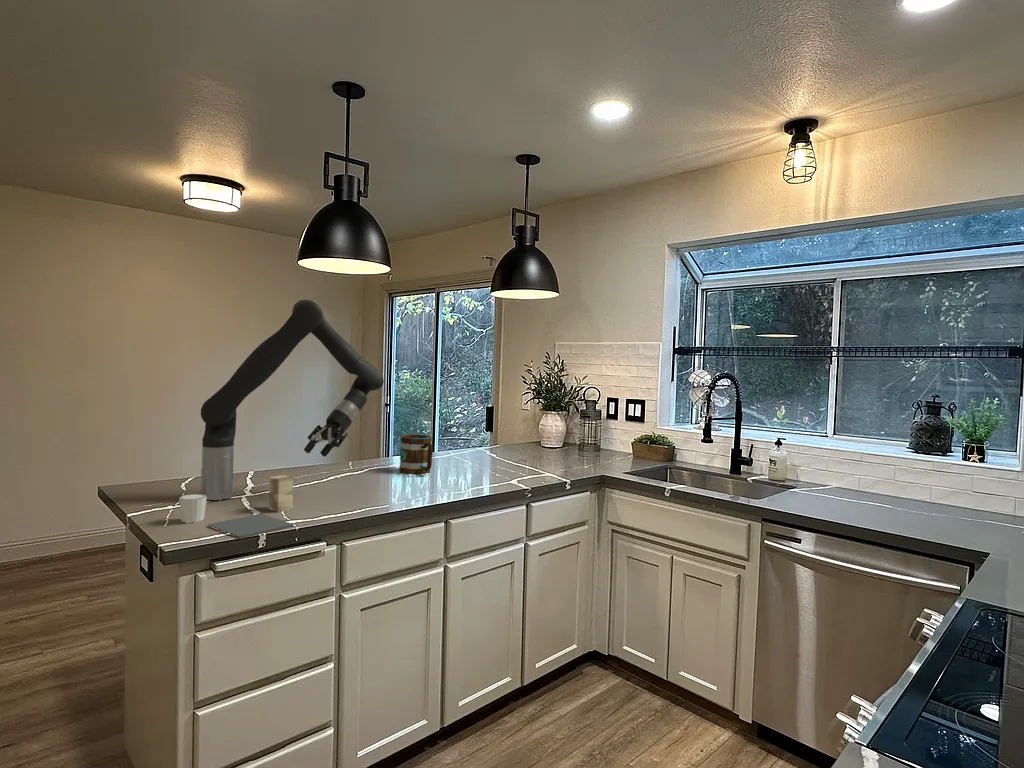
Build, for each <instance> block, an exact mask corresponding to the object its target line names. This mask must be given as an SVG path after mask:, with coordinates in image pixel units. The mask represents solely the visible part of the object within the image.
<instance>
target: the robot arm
mask: <svg viewBox="0 0 1024 768" xmlns="http://www.w3.org/2000/svg"><path fill="white" fill-rule="evenodd" d="M310 333H311V334H312V335H313V336H315V338H316V339H318V341H319V342H320V343H321V344H322V345H323V346H324V348H325V349H327V351H328V352H329V353H330V354H331V356H332V357H333V359H335V361H336V362H338V364H339V365H340V366H341V367H342V368H343V369H344V370H345V371H346V372H347V373H349V374H350V375H351V374H352V375H354V376H355V375H356V378H355V379H354V380H353V383H352V385H351V386H350V389H349V391H348V392H347V393H346V394H345V395H344V397H343V398H342V399H341V401H340V402H339V403H338V404H337V405H336V407H334V408H333V410H332V411H331V412H330V414H329V415H328V416H327V417H326V420H325V422H326V423H325V425H324V426H321V425H320V424H318V425H316V426H315V428H314V429H313V430H312V431H311V433H310V434H308V436H307V439H308V440H309V442H308V443H307V444H306V445H305V446H304V448H303V451H304V452H305V453H306V454H310V453H311V452H312V451H313V449H314V448H315V447H316V445H317V444H319V443H323V442H324V441H327V443H326V444H325V445H324V447H323V448H322V449H321V450H320V454H321V456H322V457H327V456H328V454H330V452H331V450H332V449H334V448H339V447H340V446H341V445H342V443H343V442H344V440H346V438H347V436H348V434H349V433H348V432H347V430H348V429H349V428H350V426H351V425H352V423H354V421H355V419H356V418H357V417H358V415H359V413H360V412H361V410H362V409H363V407H364V406H365V404H367V401H368V397H367V396H368V394H369V393H370V392H373V391H378V390H380V389H381V388H382V387H383V385H384V384H385V383H384V376H383V375H382V372H381V371H380V370H378V369H377V367H375V366H374V365H373V364H371V363H369V362H368V361H367V360H366V359H364V358H363V357H362V356H361V355H360V353H358V351H356V349H355V348H354V347H353V346H352V345H351V344H350V343H349V342H347V340H346V339H344V338H343V336H341V335H340V334H339V333H338V332H337V331H336V330H335V329H334V327H332V325H331V324H330V323H329V322H328V321H327V319H326V318H325V316H324V312H323V310H322V308H321V307H320V306H319V304H317V303H316V302H315V301H313V300H310V299H301V300H299V301H297V302H296V303H295V304H294V305H293V307H292V311H291V315H290V316H289V317H288V319H287V320H286V321H285V322H284V324H283V325H282V326H281V327H280V328H279V329H278V330H277V331H276V332H275V333H273V334H272V335H271V336H270V335H269V336H268V338H267V339H265V340H264V341H262V342H261V343H260V344H259V345H258V346H257V347H256V348H255V349H254V350H253V351H252V352H251V353H250V354H249V355H248V357H246V358H245V360H244V361H243V362H242V363H241V364H240V365H239V367H238V368H237V369H236V371H235V372H234V373H233V374H232V376H230V378H229V380H228V381H227V382H226V383H225V384H224V385H223V386H222V387H221V388H220V389H218V391H216V392H215V393H214V394H213V395H211V396H210V397H209V398H208V399H207V400H206V401H204V403H203V404H202V406H201V408H200V416H201V420H202V421H203V422H204V424H205V426H204V433H203V436H202V449H201V450H202V451H201V453H202V454H201V468H200V494H203V495H206V496H207V498H206V501H207V500H219V501H223V500H222V499H226V500H228V499H227V498H230V499H231V497H232V496H233V487H234V451H235V450H234V449H235V445H234V444H235V437H236V431H237V430H236V429H237V408H238V407H239V406H240V405H241V403H242V402H243V401H244V400H245V399H246V397H248V396H249V395H250V394H251V393H253V392H254V391H255V390H256V389H258V388H259V387H261V386H262V384H263V385H264V383H265V382H266V381H267V380H268V379H270V377H271V376H272V375H273V374H274V373H275V372H276V371H277V370H278V369H279V367H280V366H282V364H283V363H284V361H285V360H286V359H287V358H288V357H289V356H290V354H291V353H292V352H293V351H294V349H296V347H297V346H298V344H299V343H300V342H302V341H303V340H304V339H305V338H306V337H307V336H309V334H310ZM232 498H233V497H232Z"/></svg>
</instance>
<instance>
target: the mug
mask: <svg viewBox="0 0 1024 768" xmlns="http://www.w3.org/2000/svg"><path fill="white" fill-rule="evenodd" d="M399 449H400V451H399V456H400V457H399V460H400V461H399V469H398V470H399V471H400V472H399V471H398V472H399V474H402V473H404V475H408V474H413V475H412V476H420V475H419V474H424V475H427V474H426V473H428V474H430V473H431V468H432V465H433V464H432V462H433V452H434V451H433V450H434V447H433V445H432V436H431V435H426V434H409V433H408V434H402V435H400V448H399ZM414 474H415V475H414ZM417 474H418V475H417Z"/></svg>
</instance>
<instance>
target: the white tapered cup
mask: <svg viewBox="0 0 1024 768" xmlns="http://www.w3.org/2000/svg"><path fill="white" fill-rule="evenodd" d="M206 498H207V496H206V495H203V494H201V493H199V494H198V493H195V494H193V493H192V494H185V495H181V496H179V498H178V500H179V509H180V510H179V511H180V522H181V521H182V522H197V521H201V520H203V519H204V520H205V514H206V506H207V505H206V504H207V500H206ZM182 522H181V523H182Z"/></svg>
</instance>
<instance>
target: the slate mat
mask: <svg viewBox="0 0 1024 768" xmlns="http://www.w3.org/2000/svg"><path fill="white" fill-rule="evenodd" d="M207 525H209V526H211V527H214V528H217V529H219V530H222V531H225V532H227V533H230V534H232V535H234V536H235V537H234V536H233V537H234V538H236V537H237V538H236V539H239V540H240V539H245V538H248V537H249V538H250V537H253V536H257V535H262V534H266V533H270V532H275V531H278V530H283V529H286V528H292V527H294V523H291V522H287V521H285V520H282V519H280V518H276V517H273V516H269V515H266V514H264V513H257V514H251V515H246V516H241V517H237V518H233V519H232V518H231V519H227V520H223V521H218V522H211V523H207Z"/></svg>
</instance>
